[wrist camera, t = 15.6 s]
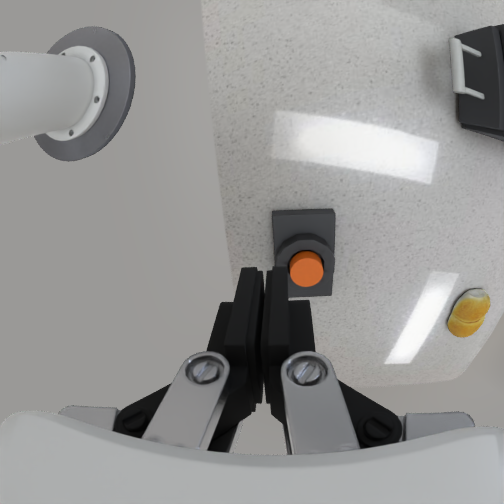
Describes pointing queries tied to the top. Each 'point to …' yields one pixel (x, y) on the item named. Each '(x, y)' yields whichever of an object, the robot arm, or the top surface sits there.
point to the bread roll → (469, 313)
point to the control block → (305, 245)
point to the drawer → (479, 77)
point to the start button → (306, 269)
